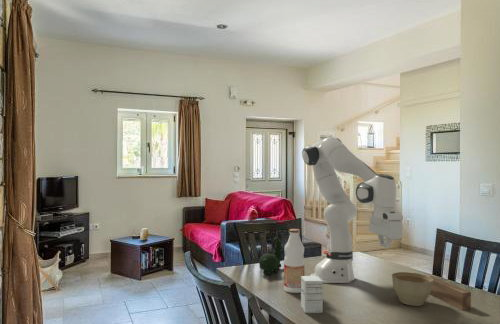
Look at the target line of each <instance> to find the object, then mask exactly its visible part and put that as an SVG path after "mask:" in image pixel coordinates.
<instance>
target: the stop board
mask: <svg viewBox="0 0 500 324" xmlns="http://www.w3.org/2000/svg"><path fill="white" fill-rule="evenodd" d="M428 276H429V277H431V278H432V279H433V283H432V290H431V293H430V295H429V296H431V297H433V298H436V299H438V300H440V301H442V302H444V303H446V304H448V305H450V306H452V307H454V308H457V309H459V310H461V311H470V310H471V309H472V308H471V307H472V304H471V303H472V292H471V291H468V290H467V289H465V288H461V287H459V286H457V285H454V284H452V283H450V282H447V281H445V280H442V279H440V278H438V277H435V276H433V275H428Z"/></svg>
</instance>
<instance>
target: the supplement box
mask: <svg viewBox="0 0 500 324" xmlns="http://www.w3.org/2000/svg"><path fill="white" fill-rule="evenodd" d="M323 285H324V283H323V281H322V280H321V279H320V278H319V277H318V276H310V275H304V276H301V293H300V307H301V309H302V310H303V312H304V314H313V313H314V314H320V313H321V314H322V313H323V309H324V308H323V307H324V306H323V303H324V302H323V300H324V299H323V298H324V292H323V291H324V290H323V289H324V286H323Z"/></svg>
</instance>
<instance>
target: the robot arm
mask: <svg viewBox="0 0 500 324" xmlns="http://www.w3.org/2000/svg"><path fill="white" fill-rule="evenodd" d="M301 157H302V160H303V161H304V163H305V164H306V165H308V166H311V167H312V172H313V176H314V178H315V182H316V184H317V186H318V189H319V192H320V193H321V196H322V197H323V198H324V199H325V200H326V201H327V203H328V204H329V205H327V206H326V207H325V208H324V211H323V218H324V219H325V220H324V221H326V224H327V227H328V231H329V249H328V250H326V249H323V250H322V253H323V254H324V255H326V256H325V257H324V258H323V259H322V260H321V261H319V262H318V263H317V264H316V265H315V267H314V273H311V274H310V275H309V276H318V277H319V278H320V279H321V280H322V281H323V284H325V283H326V284H350V283H352V281H354V280H355V279H356V277H355V273H354V268H353V267H354V266H353V260H354V259H353V257H354V255H353V248H352V247H353V245H352V243H353V241H352V240H353V237H352V233H351V230H350V227H349V222H351V221H353V220H354V219H355V218H356V217H357V215H358V208H357V206H356V204H354V203H353V202H352V200H351V199H350V198H349V196H348V194H347V193H346V191H345V190H344V188H343V186H342V184H341V182H340V180H339V179H340V178H339V177H338V174H337V172H340V173H344V174H350V175H354V176H356V177H359V178H360V179H362V180H363V182H360V183H358V184H357V186H356V187H355V197H356V199H357V200H358V202H359V203H361V204H367V205H368V204H372V205H373V211H372V213H371V215H370V218H369V223H368V230H369V232H370V233H373V234H376V235H377V238H378V241H379V242H378V243H379V246H381V247H383V248H386V249H389V248H390V247H391V242H392V240H393V241H394V240H395V241H396V240H398V241H399V240H401V239H402V237H403V230H404V229H403V227H404V226H403V222H402V221H403V220H404V215H403V214H402V213H401V212H400V211H398V210H397V205H396V198H397V184H396V180H395V178H394V177H393V176H392V175H389V174H383V173H380V174H378V173H377V172H375V171H374V169H372V168H371V167H370V166H369V165H367V164H366V162H364V161H363V160H361V159H360V158H358V157H357V156H356V155H355V154H354V153H353V152H352V151H351V150H350V149H349V148H348V147H347V146H346V145H345V144H344V143H343V142H342V141H341V139H340V138H338V137H337V138H336V137H334V136H328V137H326V138H324V139H323V140H320V141H318V142H314V143H312V144H309V145H307V146H304V148H303V149H302V151H301ZM336 171H337V172H336ZM384 239H385V240H384Z"/></svg>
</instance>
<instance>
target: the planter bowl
mask: <svg viewBox="0 0 500 324" xmlns="http://www.w3.org/2000/svg"><path fill="white" fill-rule="evenodd" d="M429 276H430V275H426V274H422V273H419V272H408V271H407V272H406V271H400V272H394V273H392V274H391V280H392V286H393V287H392V288H393V289H394V291H395V294H396V296H397V297H398V301H399V302H400V303H401V304H404V305H407V306H413V307H419V306H423V305H425V301H426V300H427V299H428V298H429V296H431V295H430V293H431V290H432V283H433V279H432V278H431V277H429Z"/></svg>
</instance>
